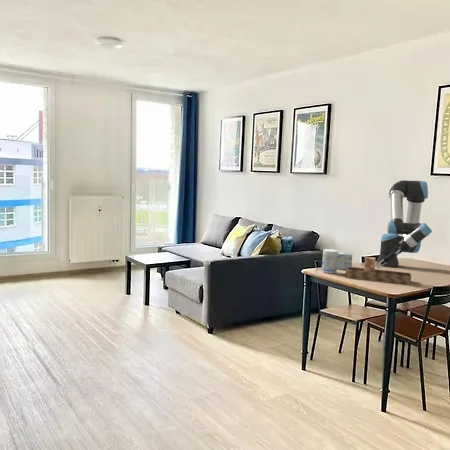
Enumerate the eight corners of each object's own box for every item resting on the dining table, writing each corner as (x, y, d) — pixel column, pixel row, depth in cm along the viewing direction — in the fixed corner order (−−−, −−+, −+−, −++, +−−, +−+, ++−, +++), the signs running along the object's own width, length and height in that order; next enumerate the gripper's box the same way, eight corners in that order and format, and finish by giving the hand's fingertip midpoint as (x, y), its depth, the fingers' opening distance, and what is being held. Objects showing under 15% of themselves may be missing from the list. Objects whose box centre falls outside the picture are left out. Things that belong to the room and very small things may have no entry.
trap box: (410, 280, 297) (410, 273, 296) (410, 284, 285) (411, 276, 285) (347, 274, 310) (348, 266, 309) (345, 277, 298) (346, 269, 298)
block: (374, 273, 301) (375, 257, 300) (373, 275, 295) (375, 259, 294) (364, 272, 303) (365, 256, 302) (363, 273, 297) (365, 258, 296)
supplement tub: (319, 270, 317) (321, 248, 316) (333, 270, 318) (335, 249, 317) (324, 273, 308) (325, 251, 306) (338, 274, 309) (340, 251, 307)
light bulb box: (350, 268, 330) (351, 252, 329) (351, 270, 323) (352, 254, 322) (334, 267, 331) (335, 252, 330) (335, 269, 324) (336, 253, 323)
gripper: (412, 249, 283) (380, 273, 290) (411, 246, 295) (381, 269, 302) (403, 239, 284) (372, 264, 291) (403, 237, 296) (373, 260, 304)
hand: (376, 267), depth 297 cm, fingers closed
